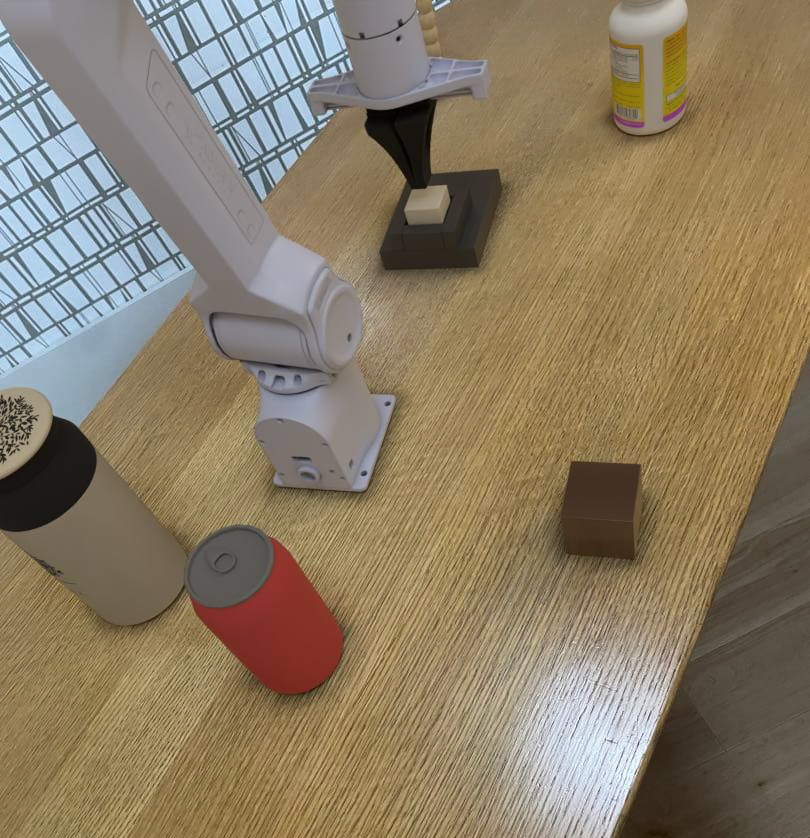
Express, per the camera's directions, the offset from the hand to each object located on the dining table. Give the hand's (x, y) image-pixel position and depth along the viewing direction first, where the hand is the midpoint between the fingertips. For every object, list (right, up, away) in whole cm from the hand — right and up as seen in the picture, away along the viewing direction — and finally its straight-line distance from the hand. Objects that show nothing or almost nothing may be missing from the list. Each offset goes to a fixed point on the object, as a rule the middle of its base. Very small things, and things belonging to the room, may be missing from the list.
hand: (421, 182), depth 72 cm
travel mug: (-22, -34, -7) cm, 41 cm away
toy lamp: (+3, +19, +21) cm, 28 cm away
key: (+1, -2, +3) cm, 3 cm away
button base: (+2, -2, +7) cm, 7 cm away
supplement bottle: (+22, +10, +8) cm, 25 cm away
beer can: (-9, -39, -14) cm, 42 cm away
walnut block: (+12, -30, -15) cm, 36 cm away
